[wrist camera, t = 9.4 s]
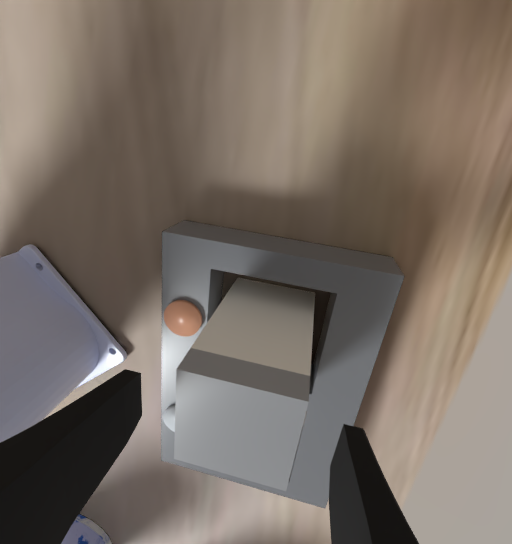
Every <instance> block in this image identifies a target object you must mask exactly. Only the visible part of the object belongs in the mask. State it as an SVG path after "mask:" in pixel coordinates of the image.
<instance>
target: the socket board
mask: <svg viewBox="0 0 512 544" xmlns="http://www.w3.org/2000/svg"><path fill="white" fill-rule="evenodd" d="M224 271H225V272H230V273H235V274H240V275H245V276H250V277H255V278H261V279H266V280H271V281H276V282H281V283H286V284H291V285H296V286H301V287H306V288H311V289H316V290H321V291H326V292H331V294H330V298H329V302H328V306H327V310H326V314H325V318H324V322H323V326H322V331H321V335H320V339H319V343H318V347H317V351H316V355H315V359H314V363H313V364H311V371H310V388H309V402H308V406H307V410H306V414H305V418H304V422H303V426H302V430H301V434H300V438H299V442H298V446H297V450H296V454H295V458H294V462H293V466H292V470H291V474H290V478H289V482H288V486H287V490H286V491H283V490H280V489H276V488H273V487H269V486H266V485H262V484H259V483H256V482H252V481H249V480H245V479H242V478H238V477H235V476H231V475H228V474H225V473H221V472H218V471H214V470H211V469H207V468H204V467H201V466H197V465H194V464H190V463H187V462H183V461H180V460H176V459H174V441H175V405H176V369H177V368H178V366H179V365H180V363H181V362H182V360H183V359H184V357H185V356H186V354H187V353H188V351H189V350H190V348H191V347H192V345H193V344H194V342H195V341H196V339H197V338H198V336H199V335H200V333H201V332H202V330H203V329H204V327H205V326H206V324H207V323H208V321H209V320H210V318H211V317H212V315H213V314H214V312H215V311H216V309H217V308H218V306H219V305H220V303H221V300H222V289H223V278H224ZM403 279H404V274H403V273H402V271H401V270H400V268H399V267H398V265H397V263H396V262H395V260H394V259H393V257H389V256H383V255H378V254H372V253H366V252H361V251H355V250H349V249H344V248H338V247H332V246H327V245H321V244H315V243H310V242H304V241H298V240H293V239H287V238H282V237H276V236H270V235H265V234H259V233H253V232H248V231H242V230H236V229H231V228H225V227H219V226H214V225H208V224H202V223H197V222H191V221H185V220H183V221H181V222H180V223H178V224H176V225H174V226H172V227H170V228H168V229H166V230H164V231H162V394H161V461H165V462H168V463H172V464H175V465H178V466H182V467H185V468H189V469H192V470H196V471H199V472H202V473H206V474H209V475H213V476H216V477H219V478H223V479H226V480H230V481H233V482H236V483H240V484H243V485H247V486H250V487H254V488H257V489H260V490H264V491H267V492H271V493H274V494H277V495H281V496H284V497H288V498H291V499H294V500H298V501H301V502H305V503H308V504H311V505H315V506H318V507H322V508H325V507H326V505H327V502H328V499H329V481H330V465H331V461H332V458H333V455H334V452H335V449H336V446H337V443H338V440H339V437H340V434H341V430H342V427H343V424H346V425H350V426H353V425H354V423H355V420H356V417H357V414H358V411H359V408H360V405H361V402H362V399H363V396H364V393H365V390H366V387H367V384H368V382H369V379H370V376H371V373H372V370H373V367H374V364H375V361H376V358H377V355H378V352H379V349H380V346H381V343H382V341H383V338H384V335H385V332H386V329H387V326H388V323H389V320H390V317H391V314H392V311H393V308H394V305H395V302H396V300H397V297H398V294H399V291H400V288H401V285H402V282H403Z"/></svg>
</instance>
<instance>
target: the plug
mask: <svg viewBox="0 0 512 544" xmlns="http://www.w3.org/2000/svg"><path fill="white" fill-rule="evenodd" d="M314 305H315V293H314V292H309V291H304V290H299V289H294V288H289V287H284V286H279V285H274V284H269V283H264V282H258V281H253V280H248V279H243V278H237V279H236V281H235V282H234V284H233V285H232V287H231V288H230V290H229V291H228V293H227V294H226V296H225V297H224V299H223V300H222V302H221V303H220V305H219V306H218V308H217V309H216V311H215V312H214V314H213V315H212V317H211V318H210V320H209V321H208V323H207V324H206V326H205V327H204V329H203V330H202V332H201V333H200V335H199V336H198V338H197V339H196V341H195V342H194V344H193V345H192V347H191V348H190V350H189V351H188V353H187V354H186V356H185V357H184V359H183V360H182V362H181V363H180V365H179V366H178V368H177V369H176V405H175V441H174V459H176V460H180V461H183V462H187V463H190V464H194V465H197V466H201V467H204V468H207V469H211V470H214V471H218V472H221V473H225V474H228V475H231V476H235V477H238V478H242V479H245V480H249V481H252V482H256V483H259V484H262V485H266V486H269V487H273V488H276V489H280V490H283V491H286V490H287V486H288V482H289V478H290V474H291V470H292V466H293V462H294V458H295V454H296V450H297V446H298V442H299V438H300V434H301V430H302V426H303V422H304V418H305V414H306V410H307V406H308V402H309V388H310V371H311V355H312V338H313V322H314Z"/></svg>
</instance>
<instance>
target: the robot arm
mask: <svg viewBox="0 0 512 544" xmlns="http://www.w3.org/2000/svg"><path fill="white" fill-rule="evenodd" d="M41 265H42V266H43V267H42V266H41ZM114 349H115V350H114ZM126 358H127V353H126V352H125V350H124V349H123V348H122V347H121V346H120V344H119V343H118V342H117V341H116V340H115V338H114V337H113V336H112V335H111V334H110V333H109V331H108V330H107V329H106V328H105V327H104V326H103V324H102V323H101V322H100V321H99V320H98V319H97V317H96V316H95V315H94V314H93V313H92V312H91V310H90V309H89V308H88V307H87V306H86V305H85V303H84V302H83V301H82V300H81V299H80V297H79V296H78V295H77V294H76V293H75V292H74V290H73V289H72V288H71V287H70V286H69V285H68V283H67V282H66V281H65V280H64V279H63V278H62V276H61V275H60V274H59V273H58V272H57V271H56V269H55V268H54V267H53V266H52V265H51V264H50V262H49V261H48V260H47V259H46V258H45V257H44V255H43V254H42V253H41V252H40V251H39V249H38V248H37V247H36V246H34V245H32V244H29V245H26V246H23V247H22V248H21V249H20V250H19V251H18V252H15V253H13V254H10V255H7V256H4V257H1V258H0V544H61V543H62V541H63V539H64V538H65V536H66V534H67V532H68V531H69V529H70V527H71V525H72V524H73V522H74V521H75V519H76V518H77V516H78V515H79V513H80V511H81V510H82V508H83V507H84V505H85V504H86V503H87V501H88V500H89V498H90V497H91V495H92V494H93V492H94V491H95V489H96V488H97V487H98V485H99V484H100V482H101V481H102V479H103V478H104V476H105V475H106V474H107V472H108V471H109V469H110V468H111V466H112V465H113V463H114V462H115V460H116V459H117V457H118V456H119V454H120V453H121V452H122V450H123V449H124V447H125V446H126V444H127V442H128V440H129V439H130V437H131V435H132V433H133V431H134V430H135V428H136V426H137V424H138V422H139V420H140V418H141V416H142V400H141V373H138V372H134V371H130V370H126V369H125V370H123V371H122V372H120V373H118V374H117V375H115V376H114V377H112V378H111V379H109V380H107V381H106V382H104V383H103V384H101V385H100V386H98V387H96V388H95V389H93V390H92V391H90V392H89V393H87V394H85V395H84V396H82V397H81V398H79V399H77V400H76V401H74V402H72V403H71V404H69V405H68V406H66V407H64V408H63V409H61V410H59V411H58V412H56V413H54V414H52V415H51V416H49V417H47V418H45V417H46V416H47V415H48V414H49V413H50V412H51V411H52V410H53V409H54V408H55V407H56V406H57V405H59V404H60V403H61V402H62V401H63V400H64V399H65V398H66V397H67V396H68V395H69V394H70V393H71V392H72V391H73V390H74V389H76V388H77V387H79V386H81V385H83V384H84V383H86V382H88V381H90V380H92V379H93V378H95V377H97V376H99V375H101V374H102V373H104V372H106V371H108V370H109V369H111V368H113V367H115V366H117V365H118V364H120V363H122V362H123V361H124V360H125V359H126ZM44 418H45V419H44ZM43 419H44V420H43ZM329 510H330V526H331V541H332V544H419V543H418V541H417V539H416V537H415V535H414V534H413V532H412V530H411V528H410V527H409V525H408V523H407V521H406V519H405V517H404V515H403V513H402V511H401V509H400V507H399V505H398V503H397V501H396V499H395V497H394V495H393V493H392V491H391V489H390V487H389V485H388V483H387V481H386V479H385V477H384V475H383V473H382V470H381V468H380V466H379V464H378V462H377V459H376V457H375V455H374V453H373V450H372V448H371V446H370V443H369V441H368V438H367V436H366V433H365V431H364V430H363V429H362V428H358V427H354V426H350V425H346V424H343V427H342V430H341V434H340V437H339V440H338V443H337V446H336V449H335V452H334V455H333V458H332V461H331V465H330V481H329Z"/></svg>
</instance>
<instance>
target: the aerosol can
mask: <svg viewBox="0 0 512 544" xmlns="http://www.w3.org/2000/svg"><path fill="white" fill-rule="evenodd" d="M61 544H112V542H111V540H110V538H109V536H108V535H107V534H106V533H105V532H104V530H103V529H102V528H101V527H99V526H98V525H97V524H96V523H94V522H93V521H91V520H90V519H88V518H86V517H84V516H83V515H80V514H79V515H78V516H77V518H76V519H75V521H74V522H73V524H72V525H71V527H70V529H69V531H68V532H67V534H66V536H65V538H64V539H63V541H62V543H61Z"/></svg>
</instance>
